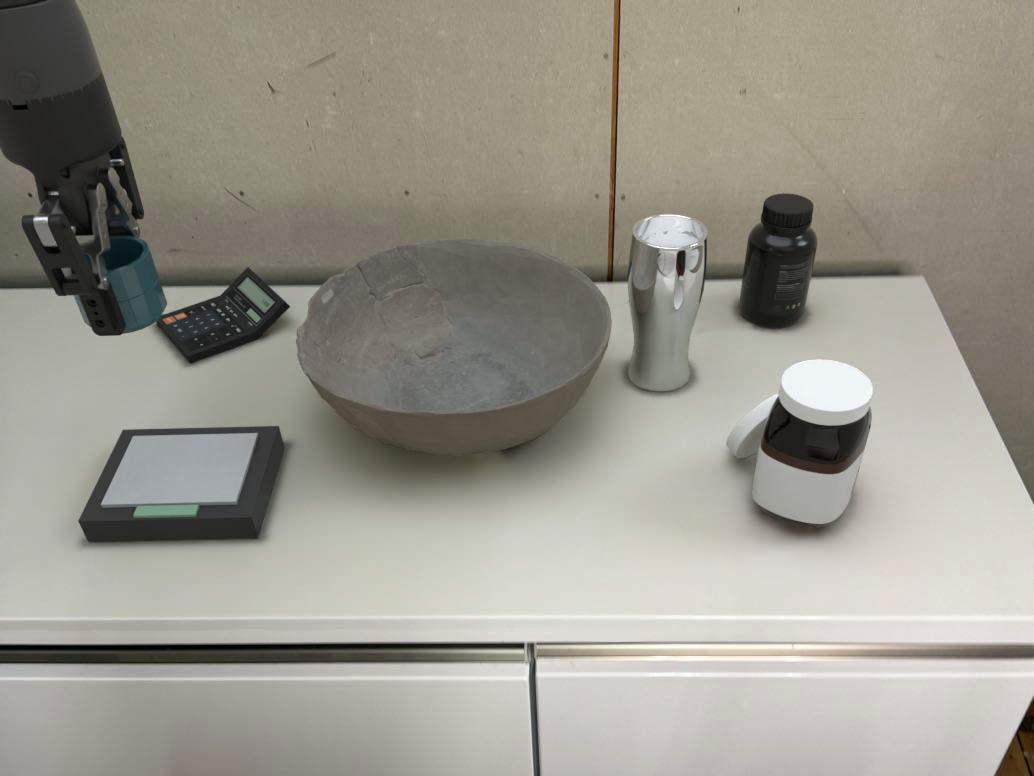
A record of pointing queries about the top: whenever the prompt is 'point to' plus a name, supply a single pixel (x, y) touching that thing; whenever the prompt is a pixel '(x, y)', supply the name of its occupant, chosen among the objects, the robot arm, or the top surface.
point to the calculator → (224, 318)
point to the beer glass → (664, 297)
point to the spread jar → (807, 442)
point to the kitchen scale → (184, 484)
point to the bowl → (454, 344)
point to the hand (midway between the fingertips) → (124, 308)
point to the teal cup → (132, 282)
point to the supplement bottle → (779, 262)
